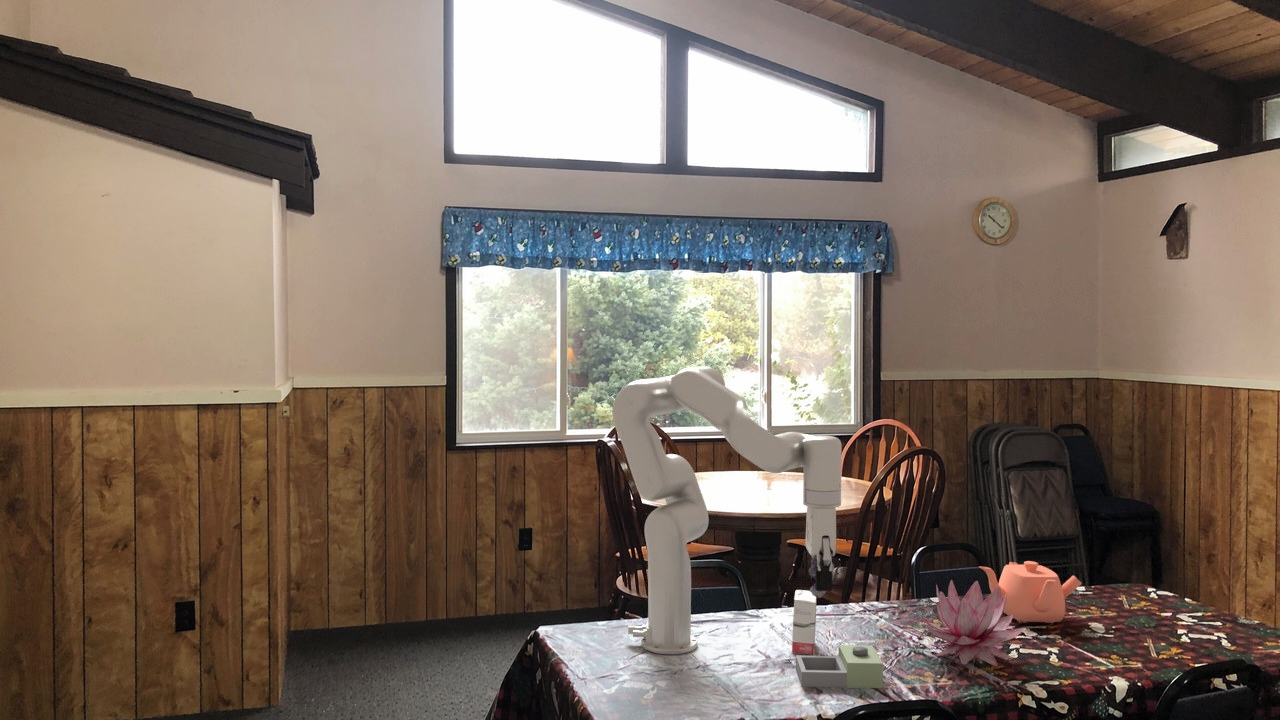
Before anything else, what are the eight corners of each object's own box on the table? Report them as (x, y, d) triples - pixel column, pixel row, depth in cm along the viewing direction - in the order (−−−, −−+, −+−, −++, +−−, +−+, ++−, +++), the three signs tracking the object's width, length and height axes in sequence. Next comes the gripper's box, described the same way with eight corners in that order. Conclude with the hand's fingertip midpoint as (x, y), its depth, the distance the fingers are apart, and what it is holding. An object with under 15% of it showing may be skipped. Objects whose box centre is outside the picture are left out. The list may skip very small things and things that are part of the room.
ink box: (815, 655, 202) (816, 601, 201) (791, 653, 203) (792, 600, 202) (815, 642, 210) (816, 590, 210) (793, 640, 211) (794, 588, 211)
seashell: (805, 593, 191) (805, 545, 190) (830, 593, 191) (831, 544, 191) (812, 601, 185) (812, 552, 185) (838, 600, 186) (838, 551, 185)
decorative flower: (946, 633, 216) (947, 569, 216) (1039, 657, 201) (1040, 589, 200) (899, 656, 201) (900, 588, 201) (995, 685, 186) (996, 610, 185)
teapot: (1053, 636, 215) (1055, 577, 214) (977, 617, 228) (978, 562, 227) (1083, 618, 228) (1084, 562, 227) (1008, 601, 241) (1010, 549, 240)
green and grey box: (801, 686, 185) (801, 657, 184) (795, 667, 195) (795, 639, 194) (882, 688, 184) (883, 658, 184) (872, 669, 194) (872, 640, 194)
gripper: (798, 489, 196) (797, 574, 197) (809, 505, 179) (808, 598, 180) (833, 489, 196) (833, 574, 196) (848, 506, 179) (847, 599, 179)
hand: (821, 585), depth 188 cm, fingers closed on seashell, 5 cm apart
